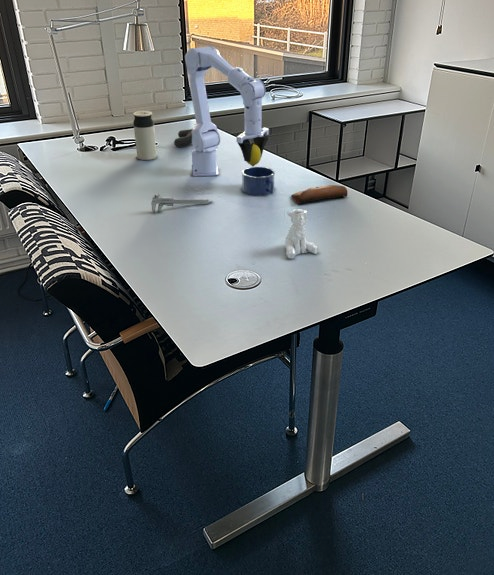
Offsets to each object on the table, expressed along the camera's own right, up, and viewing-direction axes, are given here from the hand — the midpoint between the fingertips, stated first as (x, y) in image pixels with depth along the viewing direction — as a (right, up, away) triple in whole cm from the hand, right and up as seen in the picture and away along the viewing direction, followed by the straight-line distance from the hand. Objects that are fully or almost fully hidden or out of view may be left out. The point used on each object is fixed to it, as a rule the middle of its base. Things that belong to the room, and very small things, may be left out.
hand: (252, 159), depth 182 cm
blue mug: (+3, -11, +3) cm, 11 cm away
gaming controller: (-29, +20, +53) cm, 63 cm away
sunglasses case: (+22, -14, -2) cm, 27 cm away
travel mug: (-43, +9, +35) cm, 56 cm away
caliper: (-23, -19, -10) cm, 31 cm away
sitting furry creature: (+12, -34, -35) cm, 51 cm away
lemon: (0, -2, +1) cm, 3 cm away
